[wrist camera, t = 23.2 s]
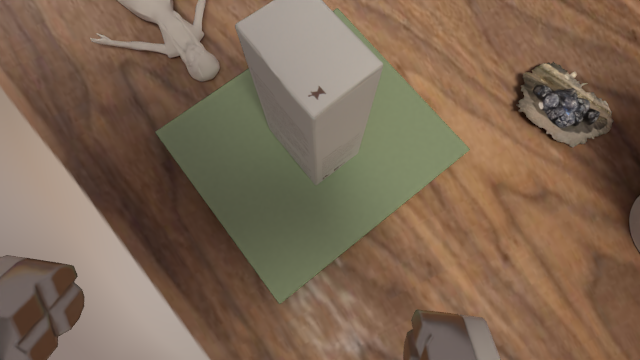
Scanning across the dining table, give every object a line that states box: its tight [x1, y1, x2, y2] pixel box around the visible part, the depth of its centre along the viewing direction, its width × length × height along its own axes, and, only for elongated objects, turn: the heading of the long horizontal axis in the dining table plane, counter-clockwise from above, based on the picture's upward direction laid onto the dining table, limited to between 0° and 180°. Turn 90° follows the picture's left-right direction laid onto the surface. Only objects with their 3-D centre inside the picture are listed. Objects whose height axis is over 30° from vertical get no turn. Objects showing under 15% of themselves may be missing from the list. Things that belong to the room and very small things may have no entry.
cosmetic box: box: [235, 0, 383, 185], centre depth 22 cm, size 6×4×12 cm
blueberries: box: [516, 62, 614, 147], centre depth 29 cm, size 7×8×2 cm
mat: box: [155, 8, 470, 304], centre depth 28 cm, size 18×16×1 cm
